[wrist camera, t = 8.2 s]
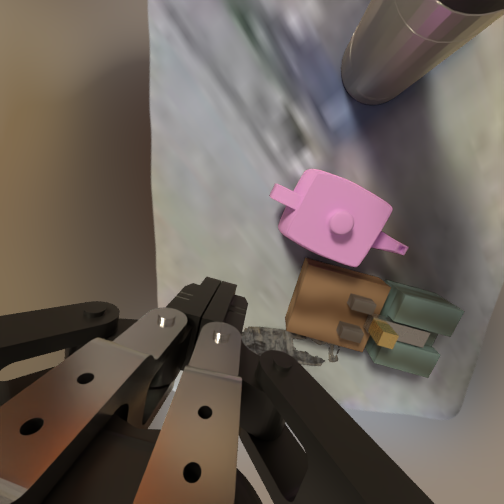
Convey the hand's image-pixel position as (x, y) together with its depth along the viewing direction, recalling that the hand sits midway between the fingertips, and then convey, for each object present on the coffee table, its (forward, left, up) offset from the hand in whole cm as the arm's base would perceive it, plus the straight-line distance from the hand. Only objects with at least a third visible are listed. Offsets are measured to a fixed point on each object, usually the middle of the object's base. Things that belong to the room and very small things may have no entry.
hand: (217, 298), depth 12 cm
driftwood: (+19, +10, -28) cm, 35 cm away
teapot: (-4, +10, -27) cm, 29 cm away
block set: (+9, +19, -27) cm, 34 cm away
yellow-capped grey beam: (+9, +23, -23) cm, 34 cm away
